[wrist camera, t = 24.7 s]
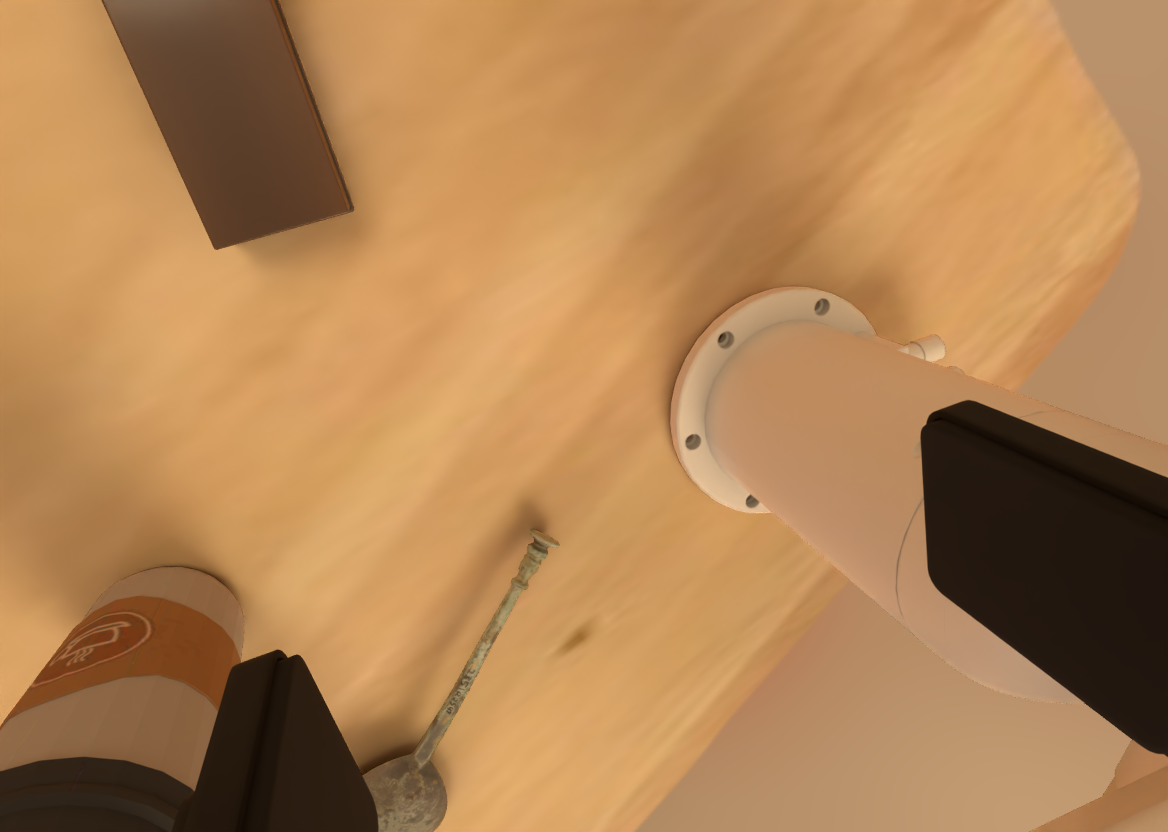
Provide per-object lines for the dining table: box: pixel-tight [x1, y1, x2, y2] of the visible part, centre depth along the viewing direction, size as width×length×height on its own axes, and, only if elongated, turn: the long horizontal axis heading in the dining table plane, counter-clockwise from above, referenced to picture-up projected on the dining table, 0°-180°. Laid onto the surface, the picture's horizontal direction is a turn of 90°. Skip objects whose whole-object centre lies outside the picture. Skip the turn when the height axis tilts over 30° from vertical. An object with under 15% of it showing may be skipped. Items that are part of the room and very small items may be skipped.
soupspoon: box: [362, 529, 560, 832], centre depth 38 cm, size 22×3×7 cm
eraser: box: [102, 0, 354, 250], centre depth 25 cm, size 5×10×4 cm, turn 14°
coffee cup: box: [0, 567, 244, 832], centre depth 26 cm, size 8×8×15 cm
